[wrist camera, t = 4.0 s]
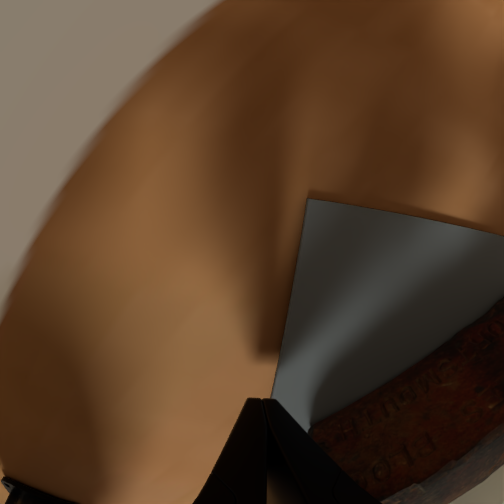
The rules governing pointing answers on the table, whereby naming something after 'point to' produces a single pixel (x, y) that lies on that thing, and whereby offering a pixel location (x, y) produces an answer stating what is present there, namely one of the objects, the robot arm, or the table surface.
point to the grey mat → (376, 301)
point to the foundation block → (485, 491)
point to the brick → (428, 422)
